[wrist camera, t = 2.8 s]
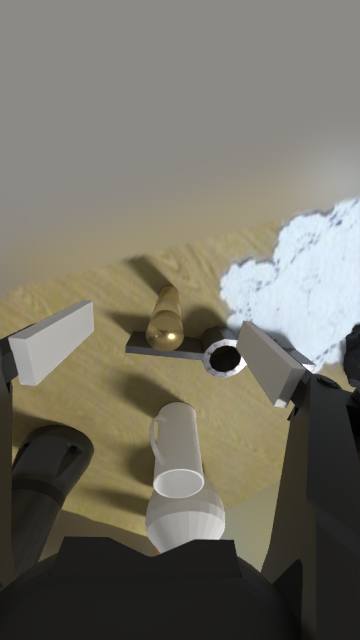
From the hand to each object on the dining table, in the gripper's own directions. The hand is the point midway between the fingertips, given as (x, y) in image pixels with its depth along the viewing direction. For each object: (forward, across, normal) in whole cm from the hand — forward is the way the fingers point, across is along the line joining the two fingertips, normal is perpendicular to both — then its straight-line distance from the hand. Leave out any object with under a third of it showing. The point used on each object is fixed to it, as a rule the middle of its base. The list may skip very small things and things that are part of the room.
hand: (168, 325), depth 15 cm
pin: (+14, 0, 0) cm, 14 cm away
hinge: (+14, +10, -8) cm, 19 cm away
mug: (+13, +4, -26) cm, 30 cm away
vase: (+13, +10, -50) cm, 53 cm away
